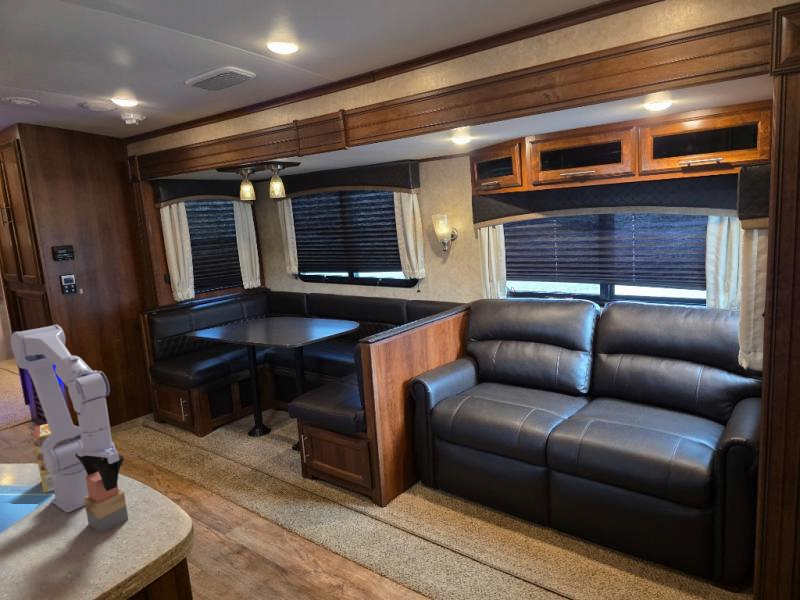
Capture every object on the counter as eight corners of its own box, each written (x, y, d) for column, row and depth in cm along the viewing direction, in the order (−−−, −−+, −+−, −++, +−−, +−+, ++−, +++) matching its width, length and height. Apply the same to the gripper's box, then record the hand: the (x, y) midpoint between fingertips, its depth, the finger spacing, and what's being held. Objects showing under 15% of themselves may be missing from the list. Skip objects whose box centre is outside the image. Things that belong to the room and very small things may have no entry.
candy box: (62, 488, 134) (52, 433, 132) (42, 494, 132) (32, 437, 129) (61, 474, 142) (52, 422, 139) (43, 479, 139) (33, 426, 137)
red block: (88, 496, 117) (85, 476, 116) (109, 487, 120) (106, 467, 120) (98, 502, 114) (94, 481, 113) (118, 493, 118) (115, 473, 117)
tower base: (88, 525, 118) (86, 511, 117) (115, 512, 123) (113, 498, 122) (101, 533, 115) (99, 519, 114) (128, 520, 119) (126, 506, 119)
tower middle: (85, 511, 117) (83, 497, 117) (112, 498, 122) (110, 485, 122) (99, 519, 114) (96, 504, 113) (126, 506, 119) (124, 492, 118)
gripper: (60, 426, 116) (70, 482, 118) (90, 441, 107) (100, 501, 110) (94, 416, 121) (102, 469, 124) (125, 429, 113) (133, 486, 115)
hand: (103, 483), depth 117 cm, fingers open, 7 cm apart
